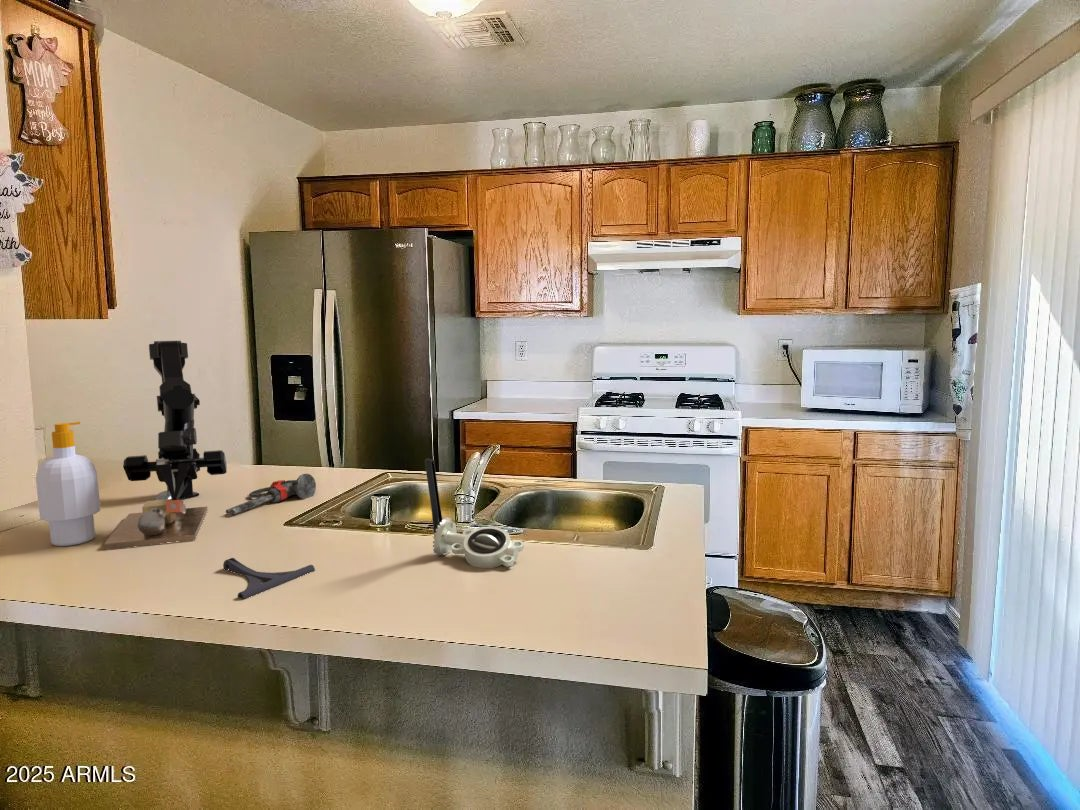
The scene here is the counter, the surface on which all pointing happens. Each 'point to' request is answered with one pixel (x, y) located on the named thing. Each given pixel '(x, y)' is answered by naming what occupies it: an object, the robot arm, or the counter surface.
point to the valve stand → (157, 525)
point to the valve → (279, 492)
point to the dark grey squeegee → (263, 577)
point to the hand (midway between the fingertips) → (174, 500)
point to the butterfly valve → (469, 535)
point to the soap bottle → (68, 491)
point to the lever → (176, 507)
